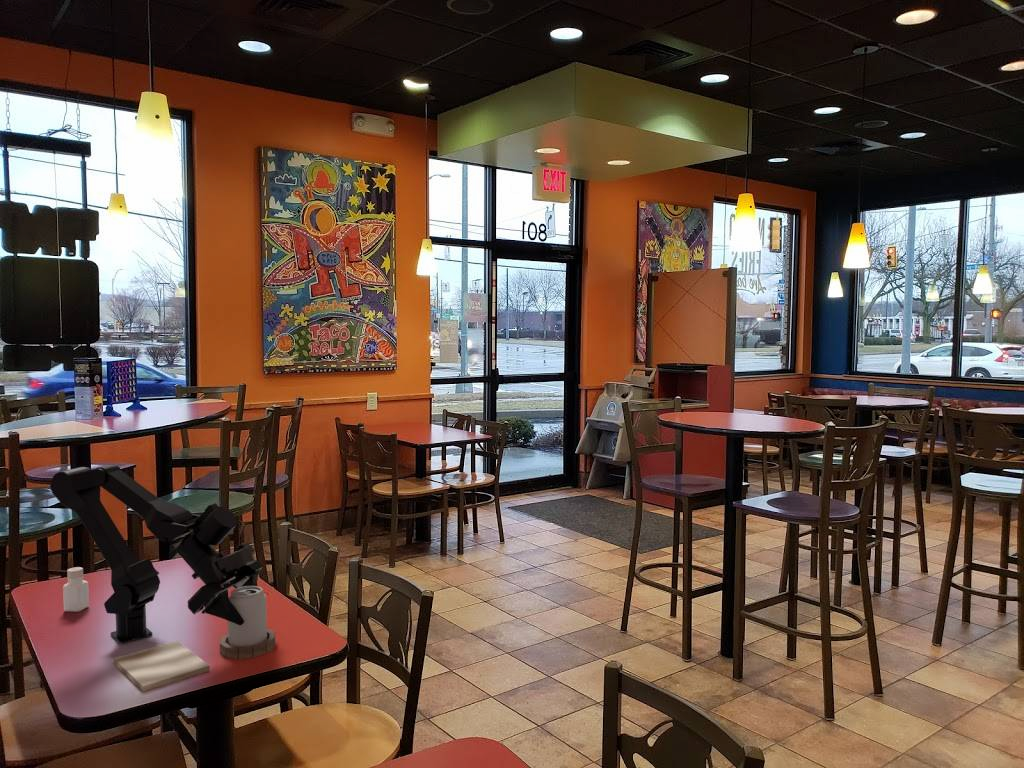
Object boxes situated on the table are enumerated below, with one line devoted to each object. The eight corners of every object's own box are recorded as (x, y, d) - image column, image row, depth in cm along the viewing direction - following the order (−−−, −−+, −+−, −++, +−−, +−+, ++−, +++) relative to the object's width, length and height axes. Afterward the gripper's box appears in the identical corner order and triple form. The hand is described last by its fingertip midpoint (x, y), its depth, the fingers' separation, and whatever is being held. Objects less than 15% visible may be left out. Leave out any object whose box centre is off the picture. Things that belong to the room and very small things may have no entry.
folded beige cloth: (114, 663, 146) (113, 658, 146) (177, 645, 154) (177, 640, 154) (142, 691, 134) (142, 686, 134) (209, 670, 143) (209, 665, 143)
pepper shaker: (90, 606, 176) (88, 566, 175) (79, 612, 172) (77, 572, 171) (74, 605, 176) (72, 566, 176) (62, 612, 173) (61, 571, 172)
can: (275, 644, 155) (274, 587, 154) (245, 658, 148) (244, 598, 147) (250, 637, 159) (249, 581, 158) (220, 650, 152) (218, 592, 151)
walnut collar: (211, 647, 153) (211, 637, 153) (260, 632, 161) (260, 623, 161) (234, 663, 146) (234, 653, 146) (284, 647, 153) (284, 638, 153)
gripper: (199, 546, 144) (252, 607, 142) (253, 522, 162) (301, 576, 160) (164, 584, 146) (216, 644, 144) (221, 556, 164) (268, 609, 162)
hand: (253, 616), depth 153 cm, fingers closed on can, 7 cm apart
